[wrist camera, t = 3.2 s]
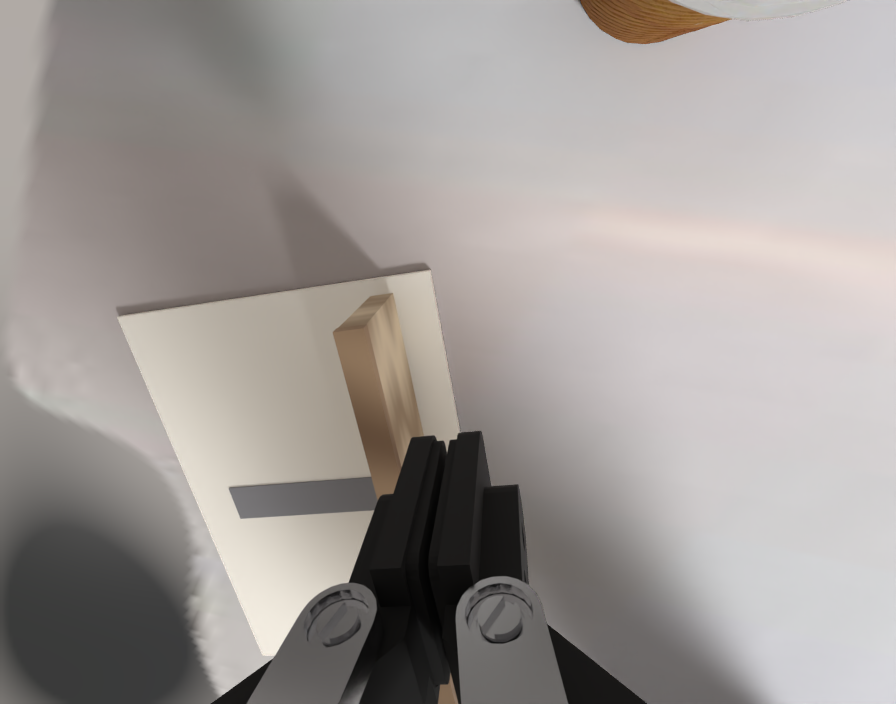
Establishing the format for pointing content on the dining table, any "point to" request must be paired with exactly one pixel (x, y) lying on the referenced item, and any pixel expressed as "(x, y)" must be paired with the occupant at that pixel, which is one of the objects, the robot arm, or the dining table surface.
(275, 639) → the card
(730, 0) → the disposable coffee cup
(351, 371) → the fence panel
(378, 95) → the dining table surface
